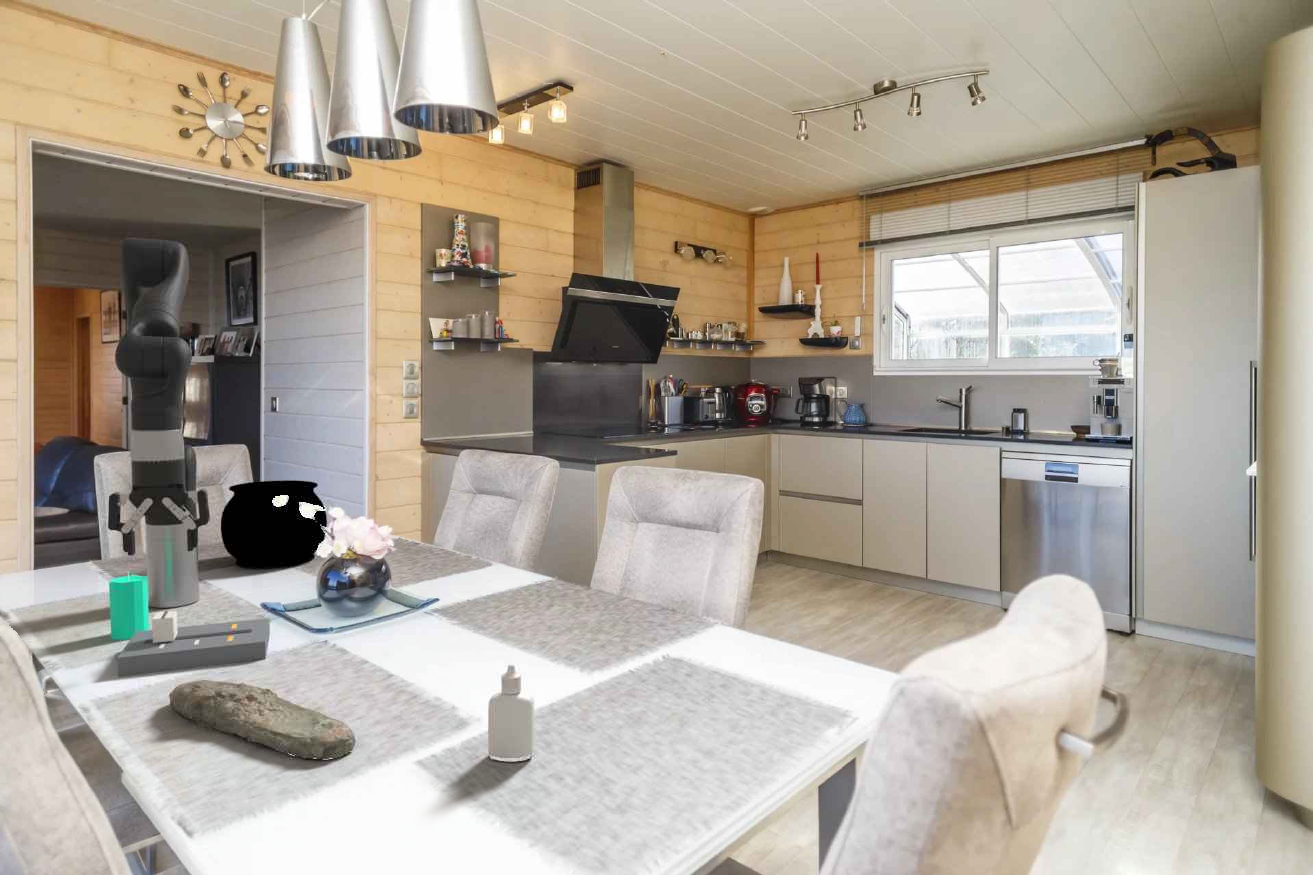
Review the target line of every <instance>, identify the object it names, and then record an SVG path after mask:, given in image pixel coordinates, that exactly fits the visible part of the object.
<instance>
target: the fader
mask: <svg viewBox="0 0 1313 875" xmlns="http://www.w3.org/2000/svg"><path fill="white" fill-rule="evenodd" d="M151 623H152V625H151V627H152V629H151V630H152V631H153V643H157V642H167V641H174V640H175V638H176V636H177V634H178V629H177V627H178V611H177V610H173V611H168V610H167V611H163V612H161V611H159V612H156V613H155V615H153V618H152V619H151Z"/></svg>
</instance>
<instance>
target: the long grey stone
mask: <svg viewBox="0 0 1313 875" xmlns="http://www.w3.org/2000/svg"><path fill="white" fill-rule="evenodd" d="M168 697H169V708H170V709H171V710H175V711H177V712H178V713H180V714H181V715H182V716H183V717H185V718H186V719H189V720H192V721H193V722H196V724H197V727H198V726H199V727H200V726H205V727H206V728H211V729H215V730H217V731H220V732H221V733H227V734H228V735H237V736H238V737H239V736H240V737H241V738H243V739H246V740H247V742H249V743H258V744H261V745H264V746H266V747H270V748H271V749H272V750H275V749H278V750H281V751H283V752H285V753H289V754H292V755H295V756H300V757H299V758H302V759H303V758H308V759H309V758H316V759H329V758H337V757H340V756H342V755H344V754H346V753H349V752H350V751H352V750H353V751H354V749H353V747H354V746H356V737H355V733H354V732H353V730H352V728H350V726H349V725H348V724H347V723H345V722H344V721H342V720H340V719H338V718H337V719H336V718H332V717H329V716H327V715H325V714H324V713H321V712H320V711H316V710H314V709H311V708H308V707H307V708H306V707H303V706H301V705H298V704H296V703H294V702H291V701H290V700H287V699H285V698H282V697H279V696H278V695H277V693H276V692H273V691H272V690H271V688H262V687H258V686H254V685H250V684H249V685H248V684H245V683H244V682H240V683H236V682H229V681H228V682H227V681H219V680H218V681H214V680H208V679H202V680H200V679H198V680H194V681H187V682H185V683H180V684H179V685H176V686H175V687H174V688H173V690H172V691H171V692H169V694H168ZM199 727H198V728H199ZM354 748H355V747H354ZM353 751H352V752H353ZM283 752H282V753H283ZM285 753H284V754H285ZM349 754H350V753H349ZM295 756H294V757H295ZM340 758H341V757H340ZM337 759H338V758H337Z"/></svg>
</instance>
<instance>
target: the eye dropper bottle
mask: <svg viewBox="0 0 1313 875" xmlns="http://www.w3.org/2000/svg"><path fill="white" fill-rule="evenodd" d="M487 712H488V714H487V716H488V717H487V718H488V720H487V721H488V722H487V725H488V726H487V728H488V729H487V730H488V731H487V732H488V733H487V734H488V737H487V738H488V743H487V744H488V752H487V753H488V754H489V755H491V756H495V757H499V758H520V757H523V756H528V755H532V753H533V751H534V752H535V701H534V697H533V696H532V695H531V694H529V693H527V692H525V691H522V675H521V673H520V672H517V671H516V667H515V664H514V663H508V666H507V670H506V672H504V673H503V674H502V675H501V691H499V692H496V693H494V694H493V695H492V696H491V697H490V699H489V701H488V708H487ZM533 754H534V753H533ZM489 755H488V756H489Z"/></svg>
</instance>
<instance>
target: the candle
mask: <svg viewBox="0 0 1313 875" xmlns="http://www.w3.org/2000/svg"><path fill="white" fill-rule="evenodd" d="M108 586H109V587H108V588H109V609H110V610H109V614H110V637H111V638H110V639H111V640H116V641H126V640H130V639H131V638H132V636H133V635H134V633H135V632H136V631H146V630H150V618H149V616H150V615H149V613H150V612H149V605H148V580H147V575H146V576H145V575H143V576H140V575H136V574H131V575H130V573H129V570H127V575H124V576H120V577H116V578H113V579H112V580H109V581H108Z"/></svg>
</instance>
